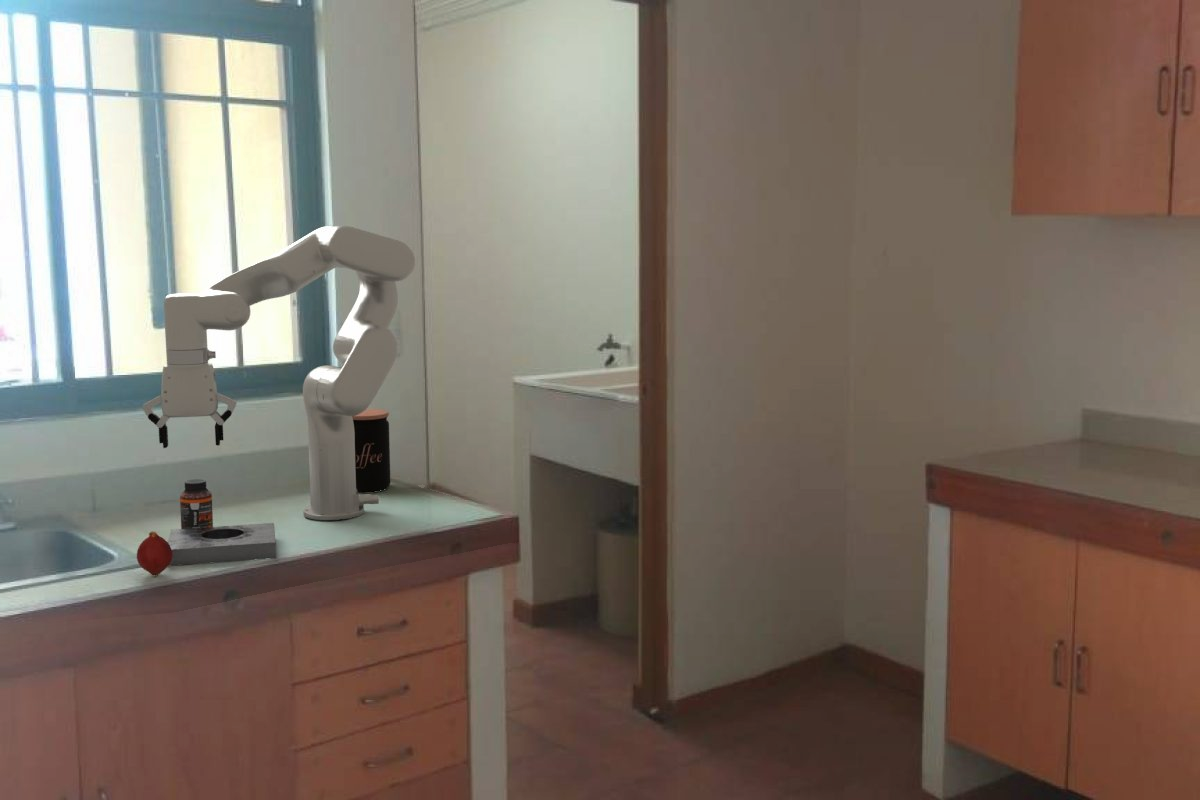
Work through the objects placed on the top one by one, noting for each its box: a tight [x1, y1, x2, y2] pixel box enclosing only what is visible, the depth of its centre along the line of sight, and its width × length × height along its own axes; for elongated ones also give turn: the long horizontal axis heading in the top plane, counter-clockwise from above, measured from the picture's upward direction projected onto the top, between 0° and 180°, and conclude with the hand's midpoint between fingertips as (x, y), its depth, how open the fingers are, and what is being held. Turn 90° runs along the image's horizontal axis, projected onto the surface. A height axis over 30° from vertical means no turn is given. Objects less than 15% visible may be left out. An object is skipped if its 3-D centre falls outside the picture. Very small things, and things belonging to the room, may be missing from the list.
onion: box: [136, 530, 172, 577], centre depth 206 cm, size 6×6×8 cm
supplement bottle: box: [179, 478, 214, 529], centre depth 231 cm, size 6×6×11 cm
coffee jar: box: [352, 408, 391, 493], centre depth 274 cm, size 11×11×18 cm
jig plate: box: [167, 522, 277, 567], centre depth 222 cm, size 19×15×3 cm
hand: (192, 445), depth 230 cm, fingers open, 9 cm apart
